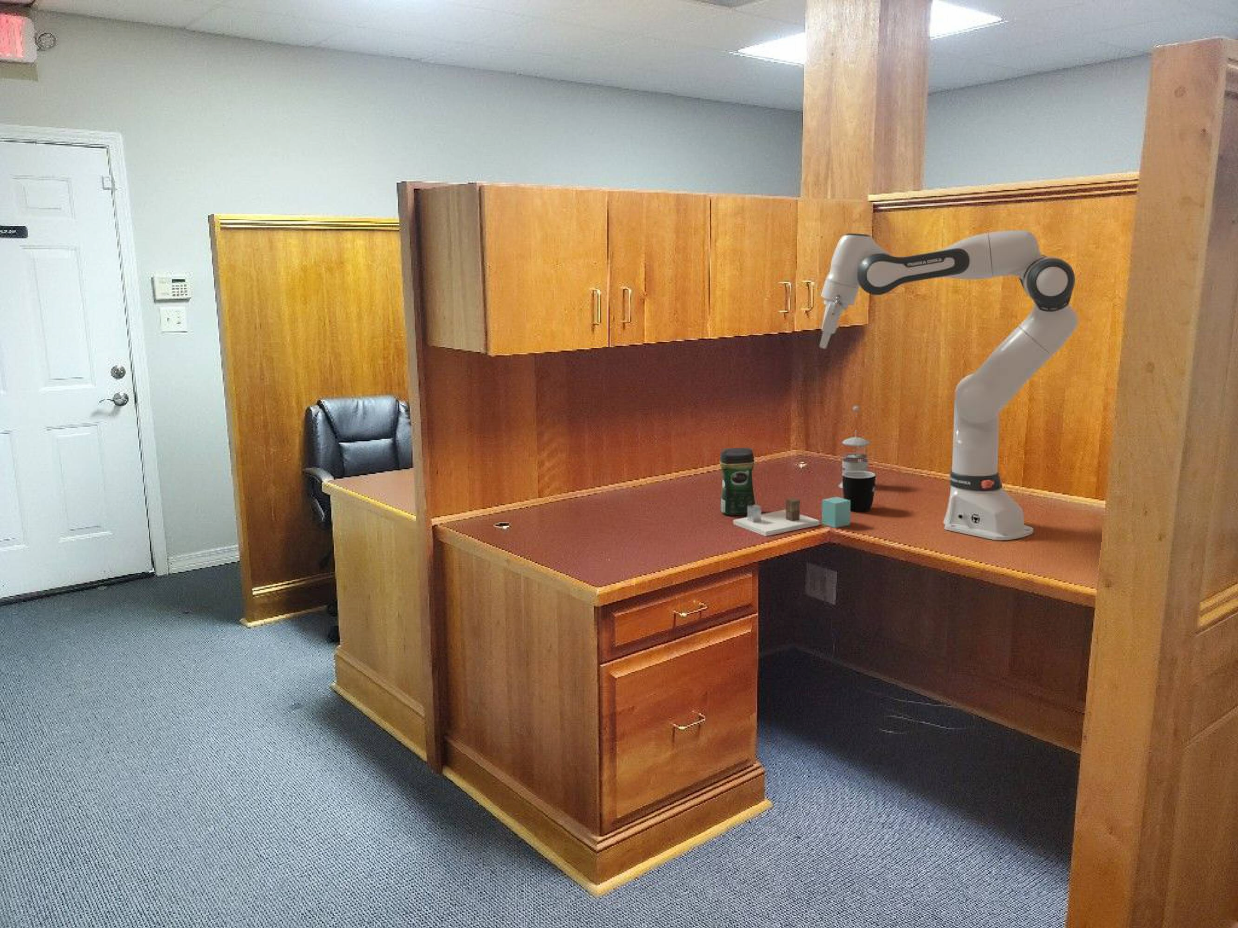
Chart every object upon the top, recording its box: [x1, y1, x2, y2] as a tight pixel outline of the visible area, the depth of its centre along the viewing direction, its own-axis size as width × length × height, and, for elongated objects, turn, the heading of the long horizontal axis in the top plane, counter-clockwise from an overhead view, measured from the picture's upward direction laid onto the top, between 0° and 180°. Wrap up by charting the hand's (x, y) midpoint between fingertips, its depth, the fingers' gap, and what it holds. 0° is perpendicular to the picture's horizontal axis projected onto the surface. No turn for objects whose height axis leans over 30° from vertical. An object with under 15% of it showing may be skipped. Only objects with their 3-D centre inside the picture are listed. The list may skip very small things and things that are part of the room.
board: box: [732, 509, 820, 537], centre depth 261 cm, size 14×18×1 cm
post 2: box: [785, 497, 801, 521], centre depth 260 cm, size 3×3×6 cm
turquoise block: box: [821, 496, 851, 529], centre depth 259 cm, size 5×5×7 cm
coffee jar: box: [719, 447, 756, 516], centre depth 272 cm, size 10×8×19 cm
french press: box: [838, 405, 870, 489], centre depth 298 cm, size 10×12×25 cm
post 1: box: [746, 504, 762, 523], centre depth 261 cm, size 3×3×4 cm
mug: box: [841, 470, 876, 513], centre depth 274 cm, size 12×9×10 cm
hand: (822, 345), depth 258 cm, fingers open, 8 cm apart
